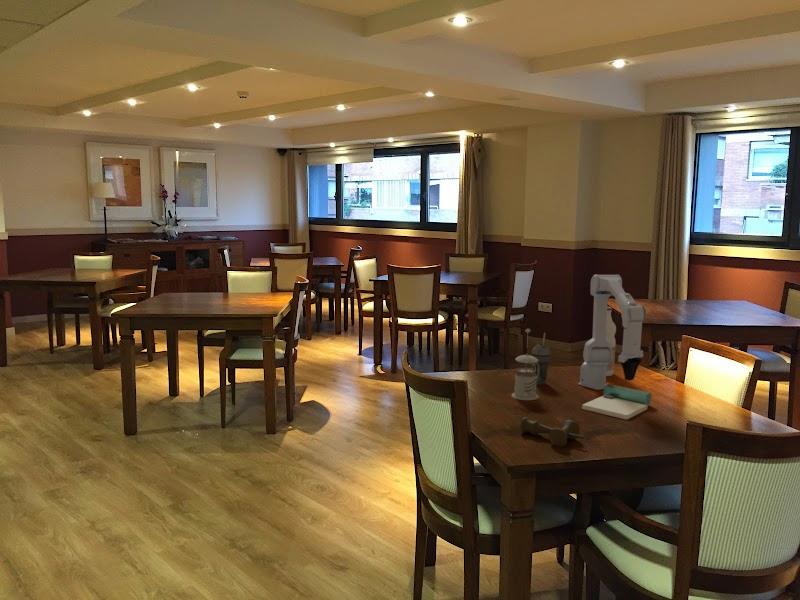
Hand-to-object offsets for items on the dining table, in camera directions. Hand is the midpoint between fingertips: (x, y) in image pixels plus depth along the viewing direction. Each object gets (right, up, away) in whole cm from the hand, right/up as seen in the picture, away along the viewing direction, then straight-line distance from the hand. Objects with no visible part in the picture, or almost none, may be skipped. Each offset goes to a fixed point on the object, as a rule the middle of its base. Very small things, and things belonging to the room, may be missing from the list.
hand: (629, 379), depth 227 cm
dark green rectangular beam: (+2, -9, +10) cm, 13 cm away
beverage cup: (-24, -6, +33) cm, 41 cm away
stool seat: (-5, -10, +1) cm, 11 cm away
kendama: (-33, -15, -29) cm, 46 cm away
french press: (-32, -8, +15) cm, 37 cm away
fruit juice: (+5, -4, +49) cm, 49 cm away
